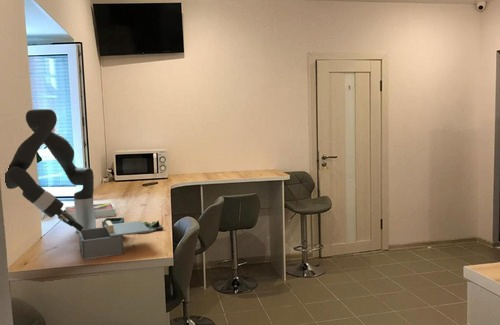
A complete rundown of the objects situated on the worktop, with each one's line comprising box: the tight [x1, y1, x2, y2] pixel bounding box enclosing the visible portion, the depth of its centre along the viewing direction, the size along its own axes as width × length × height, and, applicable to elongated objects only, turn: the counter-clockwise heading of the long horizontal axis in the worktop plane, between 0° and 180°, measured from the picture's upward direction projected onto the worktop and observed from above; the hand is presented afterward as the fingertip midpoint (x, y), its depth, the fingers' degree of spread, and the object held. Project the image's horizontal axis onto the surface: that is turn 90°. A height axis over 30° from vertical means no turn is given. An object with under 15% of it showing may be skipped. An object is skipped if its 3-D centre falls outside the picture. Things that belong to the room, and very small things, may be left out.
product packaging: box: [63, 202, 116, 219], centre depth 255 cm, size 22×28×5 cm
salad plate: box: [141, 220, 164, 234], centre depth 215 cm, size 19×18×5 cm
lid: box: [104, 220, 151, 237], centre depth 185 cm, size 17×21×4 cm
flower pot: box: [101, 217, 125, 227], centre depth 201 cm, size 9×9×9 cm
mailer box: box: [78, 226, 124, 261], centre depth 180 cm, size 16×20×8 cm
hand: (81, 229), depth 176 cm, fingers closed
